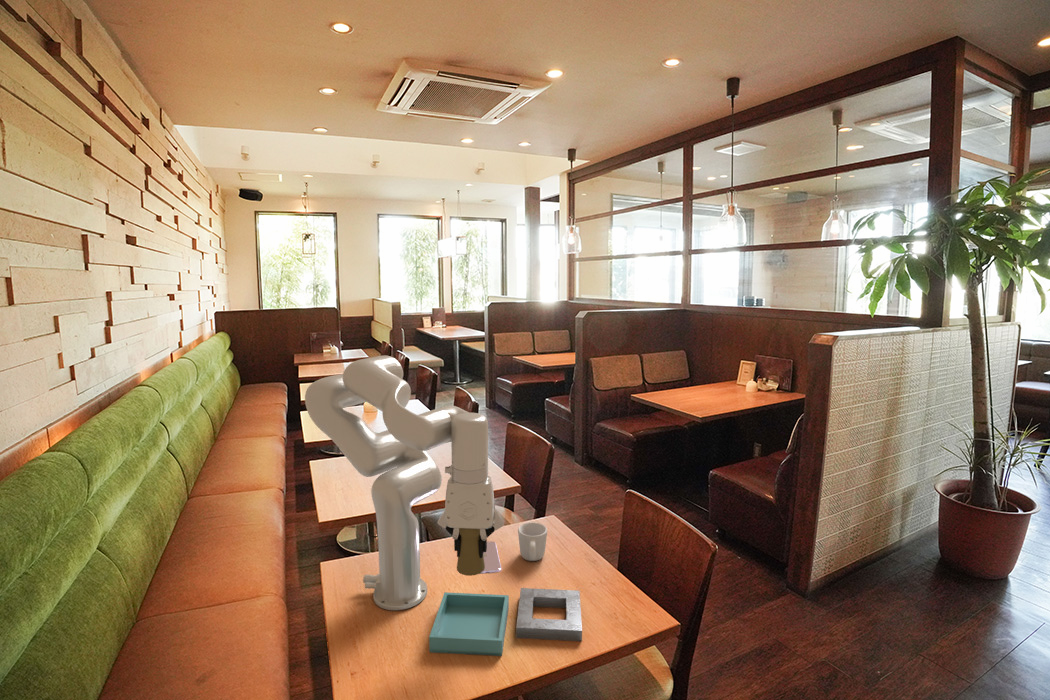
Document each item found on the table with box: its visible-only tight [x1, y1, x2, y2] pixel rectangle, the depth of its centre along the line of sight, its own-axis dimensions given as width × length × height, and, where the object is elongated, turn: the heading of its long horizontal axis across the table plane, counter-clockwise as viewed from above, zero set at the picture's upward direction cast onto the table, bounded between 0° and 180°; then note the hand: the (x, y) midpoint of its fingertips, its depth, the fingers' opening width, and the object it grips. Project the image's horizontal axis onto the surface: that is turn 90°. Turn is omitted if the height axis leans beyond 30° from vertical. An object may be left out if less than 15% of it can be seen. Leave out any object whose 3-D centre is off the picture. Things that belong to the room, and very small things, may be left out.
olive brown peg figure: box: [456, 528, 485, 577], centre depth 114 cm, size 6×6×11 cm
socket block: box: [515, 587, 583, 642], centre depth 121 cm, size 14×14×2 cm
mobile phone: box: [480, 540, 502, 574], centre depth 145 cm, size 8×1×15 cm
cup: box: [517, 521, 548, 562], centre depth 144 cm, size 11×8×8 cm
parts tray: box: [428, 592, 510, 657], centre depth 117 cm, size 15×15×4 cm
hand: (470, 553), depth 114 cm, fingers closed on olive brown peg figure, 4 cm apart
